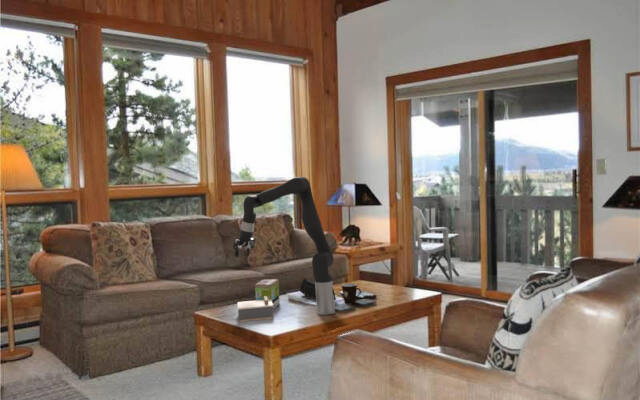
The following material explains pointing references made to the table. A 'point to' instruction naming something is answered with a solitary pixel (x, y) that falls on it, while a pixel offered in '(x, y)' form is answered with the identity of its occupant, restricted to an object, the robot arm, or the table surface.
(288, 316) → the table surface
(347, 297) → the coffee mug
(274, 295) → the tea box
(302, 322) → the table surface
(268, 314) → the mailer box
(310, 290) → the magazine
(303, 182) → the robot arm
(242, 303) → the lid
